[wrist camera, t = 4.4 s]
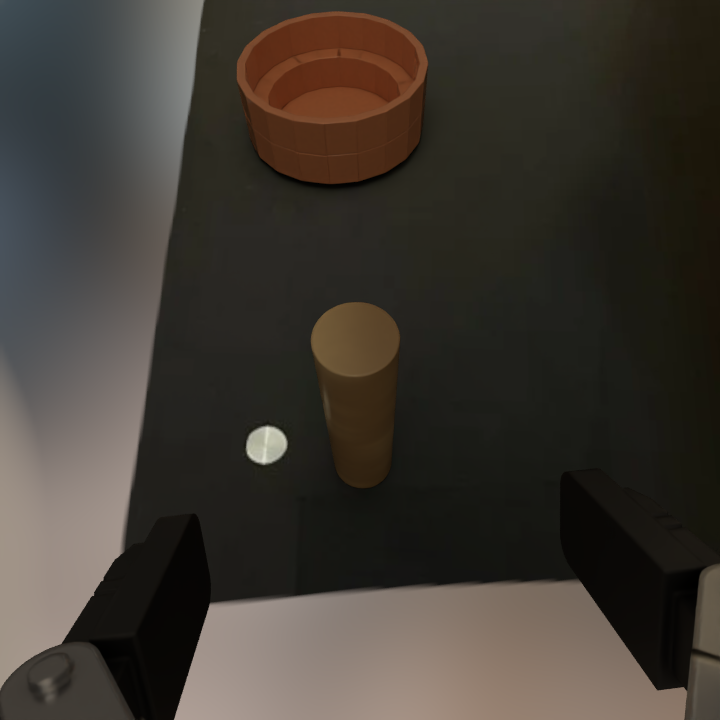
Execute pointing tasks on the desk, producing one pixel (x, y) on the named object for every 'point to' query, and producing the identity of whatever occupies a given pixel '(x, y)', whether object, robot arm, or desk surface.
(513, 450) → the desk surface
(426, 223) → the desk surface
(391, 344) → the stick
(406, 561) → the desk surface
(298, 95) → the bowl
